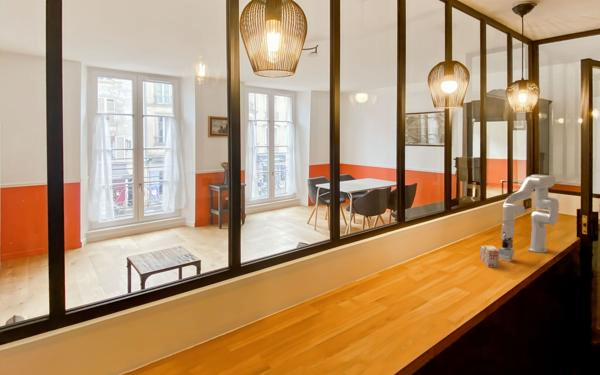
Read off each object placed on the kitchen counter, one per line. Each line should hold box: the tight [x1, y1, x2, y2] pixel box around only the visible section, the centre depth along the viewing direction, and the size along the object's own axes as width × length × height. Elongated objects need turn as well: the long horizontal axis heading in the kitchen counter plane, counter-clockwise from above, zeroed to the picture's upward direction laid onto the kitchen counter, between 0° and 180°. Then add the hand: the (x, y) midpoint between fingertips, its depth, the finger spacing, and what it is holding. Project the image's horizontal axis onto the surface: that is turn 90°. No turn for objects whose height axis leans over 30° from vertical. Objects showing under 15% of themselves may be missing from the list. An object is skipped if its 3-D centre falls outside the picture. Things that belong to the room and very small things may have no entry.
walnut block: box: [501, 238, 514, 249], centre depth 274 cm, size 5×5×6 cm
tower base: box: [498, 254, 515, 263], centre depth 276 cm, size 7×7×4 cm
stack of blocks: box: [479, 245, 499, 269], centre depth 269 cm, size 21×6×12 cm, turn 169°
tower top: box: [498, 247, 515, 256], centre depth 275 cm, size 7×7×4 cm
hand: (507, 246), depth 275 cm, fingers closed on walnut block, 4 cm apart
